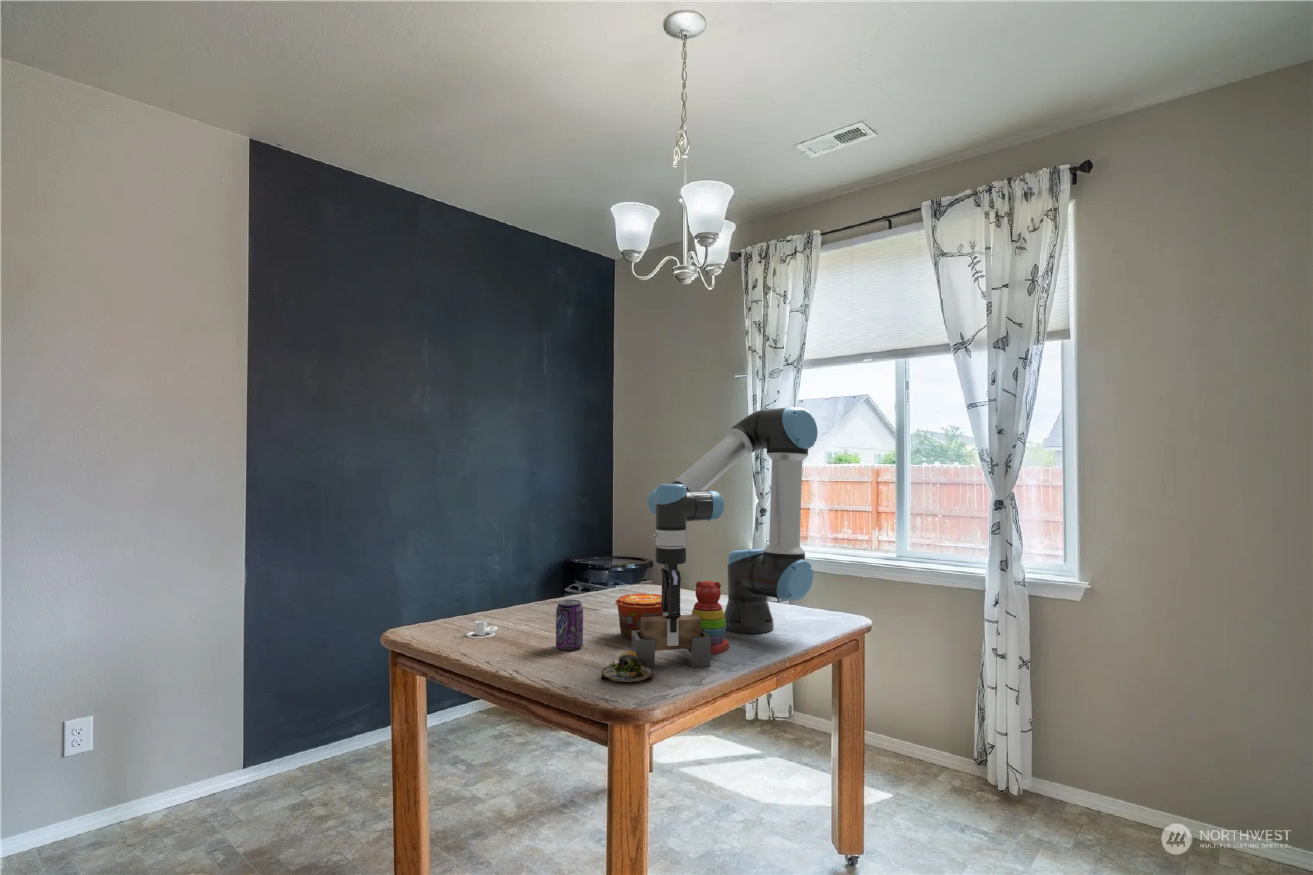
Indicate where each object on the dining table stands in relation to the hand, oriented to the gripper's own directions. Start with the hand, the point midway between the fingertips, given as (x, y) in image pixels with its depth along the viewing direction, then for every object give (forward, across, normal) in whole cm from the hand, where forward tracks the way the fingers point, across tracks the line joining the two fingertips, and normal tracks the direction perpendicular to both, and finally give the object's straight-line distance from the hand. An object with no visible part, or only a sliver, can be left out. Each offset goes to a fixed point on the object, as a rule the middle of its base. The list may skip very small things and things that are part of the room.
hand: (670, 641), depth 169 cm
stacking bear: (+5, -11, +12) cm, 17 cm away
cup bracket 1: (+5, 0, -6) cm, 8 cm away
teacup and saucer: (+6, -33, -46) cm, 56 cm away
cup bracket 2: (+5, 0, +6) cm, 8 cm away
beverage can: (+5, -17, -24) cm, 30 cm away
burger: (+6, +10, -12) cm, 16 cm away
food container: (+5, -26, -3) cm, 27 cm away
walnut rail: (+1, 0, 0) cm, 1 cm away
